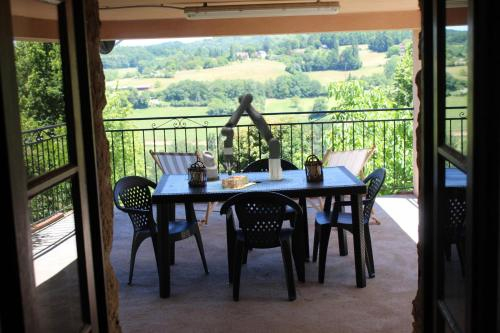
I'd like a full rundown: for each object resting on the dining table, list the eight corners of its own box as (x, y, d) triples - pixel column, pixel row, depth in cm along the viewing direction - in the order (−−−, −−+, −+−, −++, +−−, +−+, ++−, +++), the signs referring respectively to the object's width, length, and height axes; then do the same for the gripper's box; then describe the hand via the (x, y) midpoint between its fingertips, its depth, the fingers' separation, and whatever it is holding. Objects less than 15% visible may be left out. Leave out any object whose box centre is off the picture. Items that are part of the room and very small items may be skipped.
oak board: (256, 183, 538) (256, 182, 538) (240, 189, 516) (240, 188, 516) (240, 182, 545) (240, 182, 545) (223, 188, 523) (223, 188, 522)
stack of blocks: (238, 174, 543) (251, 175, 535) (238, 182, 544) (251, 183, 536) (221, 179, 526) (234, 180, 518) (221, 187, 527) (234, 188, 519)
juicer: (224, 179, 565) (223, 150, 561) (211, 182, 553) (209, 152, 550) (199, 177, 585) (197, 148, 581) (185, 179, 573) (183, 150, 569)
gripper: (238, 152, 531) (239, 174, 534) (223, 152, 537) (225, 174, 540) (233, 154, 525) (234, 176, 527) (218, 153, 531) (220, 176, 533)
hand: (229, 175), depth 533 cm, fingers closed
